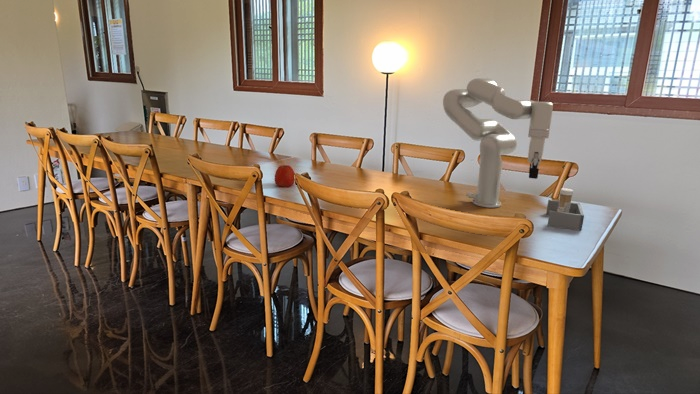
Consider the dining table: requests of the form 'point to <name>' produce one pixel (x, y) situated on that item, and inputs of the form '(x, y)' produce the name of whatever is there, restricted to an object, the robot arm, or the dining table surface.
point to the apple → (284, 176)
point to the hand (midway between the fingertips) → (533, 175)
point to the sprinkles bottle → (565, 200)
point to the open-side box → (565, 216)
